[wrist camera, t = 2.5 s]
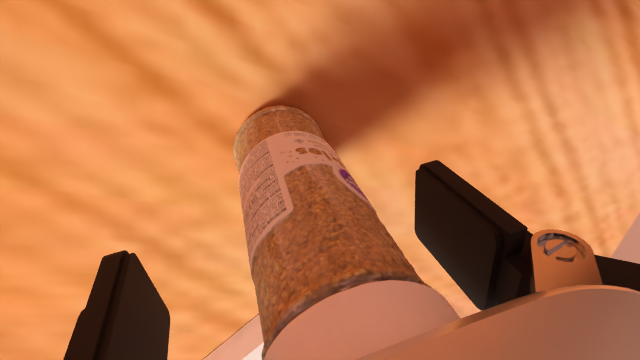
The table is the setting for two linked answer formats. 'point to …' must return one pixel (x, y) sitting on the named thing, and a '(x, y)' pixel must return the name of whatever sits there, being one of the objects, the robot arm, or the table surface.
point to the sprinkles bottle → (322, 249)
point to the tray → (242, 344)
